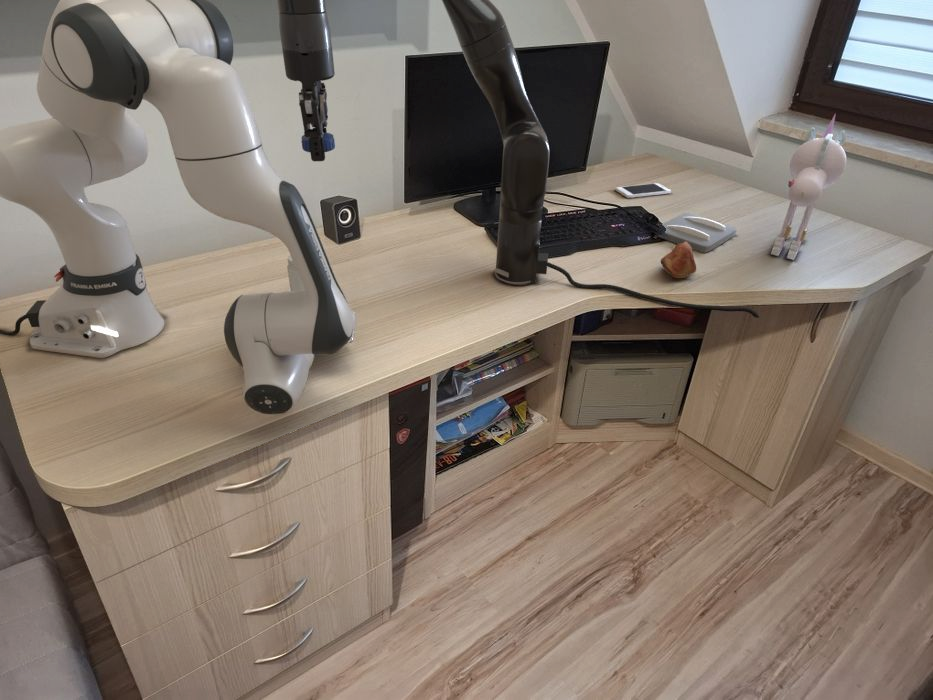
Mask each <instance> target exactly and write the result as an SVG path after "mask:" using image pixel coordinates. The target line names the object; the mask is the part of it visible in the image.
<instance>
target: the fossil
mask: <svg viewBox="0 0 933 700" xmlns="http://www.w3.org/2000/svg"><path fill="white" fill-rule="evenodd" d="M660 264H661V265H662V267H663V269H664V270H665V272H667V274H669V275H671V277H673V278H675V279H684V278H687V277H689V276H690V275H693V274H695V272H697V264H696V260H695V257H694V252H693V249H692V248H691V246H690V245H689V243H688V242H687V241H685V242H684V243H681V244H676V245H675V246H674V247H673V248H672V250H671V251H670V252H668V253H667V254H666V255H664V256H663V257H662V258H661V259H660Z"/></svg>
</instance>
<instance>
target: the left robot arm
mask: <svg viewBox="0 0 933 700" xmlns="http://www.w3.org/2000/svg"><path fill="white" fill-rule="evenodd" d="M42 45H43V46H42V51H41V57H40V64H39V68H38V76H37V82H36V92H37V96H38V99H39V102H40V103H41V105H42V107H43V108H44V110H45V111H46V112H47V114H49V115H50V118H47V119H41V120H36V121H32V122H27V123H22V124H17V125H12V126H9V127H6V128H3V129H1V130H0V197H1V198H2V199H4V200H6V201H9V202H11V203H14V204H17V205H20V206H23V207H24V208H26V209H29V211H31V212H33V213H34V214H36V215H37V216H38V217H39V218H40V219H41V220H42V221H43V222H44V223H45V224H46V226H47V227H48V228H49V229H50V232H51V233H52V234H53V237H54V239H55V241H56V244H57V246H58V248H59V250H60V252H61V255H62V258H63V260H64V265H63V266H61V267H60V268H59V271H58V272H57V273H56V274H54V276H53V278H55V282H56V283H58V282H59V281H60V280H61V279H62V280H63V281H62V285H61V286H60V287H59V288H58V289H56V290H55V291H54V292H53V293H52V294H50V296H49V297H48V298H47V299H44V300H41V299H40V300H36V301H35V303H33V304H32V306H31V307H30V308H29V309H28V310H27V312H26V313H25V314H24V315H22V316H20V317H19V318H18V319H17V320H16V322H15V325H14V330H12V331H6V330H3V329H0V334H1V335H4V336H16V335H18V334H19V333H20V331H21V324H22V323H23V322H24V321H25V320H28V322H29V324H30V327H31V328H35V329H34V330H33V332H32V333H31V335H30V337H29V344H30V348H31V349H32V350H39V351H45V352H46V351H47V352H53V353H54V352H55V353H60V354H69V355H75V356H76V355H77V356H83V357H89V358H98V359H104V358H107V357H111V356H113V355H114V354H117V353H118V352H120V351H123V350H126V349H130V348H134V347H137V346H140V345H142V344H144V343H146V342H149V341H151V340H152V339H154V338H155V337H156V336H158V335H159V334H160V333H161V332H162V331H163V329H164V327H165V319H164V317H163V316H162V315H161V313H160V312H159V310H158V309H157V307H156V305H155V303H154V301H153V299H152V297H151V294H150V292H149V290H148V287H147V281H146V280H147V279H146V275H145V272H144V268H143V265H142V262H141V259H140V256H139V255H138V254H137V253H136V250H135V247H134V242H133V238H132V236H131V232H130V228H129V225H128V222H127V220H126V219H125V217H124V215H122V214H121V213H120V212H119V211H118V210H116V209H115V208H112V207H110V206H108V205H104V204H99V203H96V202H95V203H94V202H89V200H88V198H87V196H86V193H85V188H87V187H90V186H94V185H97V184H100V183H103V182H107V181H111V180H115V179H118V178H121V177H123V176H125V175H127V174H130V173H131V172H133V171H135V170H136V169H138V168H139V167H141V166H143V165H144V164H145V163H146V162H147V159H148V155H149V142H148V141H149V140H148V138H147V135H146V132H145V131H144V129H143V127H142V125H140V123H139V122H138V121H137V120H136V119H135V118H134V117H133V116H132V115H130V114H129V113H128V112H126V109H128V110H132V111H133V110H134V111H135V110H137V109H138V108H139V107H140V105H141V103H142V102H143V100H144V101H146V102H148V103H149V104H150V105H152V106H153V107H155V109H156V110H158V112H159V113H160V115H161V116H162V118H163V120H164V123H165V126H166V129H167V134H168V138H169V141H170V145H171V149H172V151H173V156H174V158H175V162H176V165H177V170H178V171H179V175H180V178H181V181H182V183H183V186H184V188H185V189H186V191H187V193H188V195H189V196H190V198H191V199H192V200H193V201H194V202H195V203H196V204H198V205H199V206H200V207H201V208H203V210H206V211H207V212H209V213H211V214H213V215H214V216H216V217H219V218H222V219H224V220H227V221H232V222H236V223H240V224H244V225H247V226H251V227H254V228H257V229H260V230H261V231H264V232H266V233H269V234H271V235H273V236H274V237H276V238H277V239H278V240H279V241H281V242H282V243H283V244H284V245H285V247H286V248H287V250H288V252H289V255H291V257H292V260H293V262H294V264H295V267H296V269H297V271H298V274H299V276H300V278H301V281H302V283H303V286H304V288H305V290H302V291H291V290H290V291H279V292H278V291H276V292H271V291H269V292H258V293H249V294H241V295H239V296H238V297H237V298H236V299H235V300H234V301H233V303H232V304H231V305H230V308H229V309H228V311H227V313H226V316H225V319H224V324H223V335H224V339H225V343H226V346H227V349H228V351H229V352H230V354H231V356H232V357H233V358H234V360H235V361H236V363H238V365H239V366H240V367H241V368H242V370H243V385H242V386H243V387H242V395H243V400H244V402H245V404H246V405H247V406H248V407H249V408H250V409H251V410H253V411H255V412H258V413H260V414H264V415H279V414H280V415H281V414H286V413H287V412H289V411H290V410H292V409H293V408H294V407H295V406H296V404H297V403H298V402H299V400H300V398H301V396H302V393H303V391H304V390H305V387H306V385H307V381H308V378H309V375H310V374H309V373H310V368H311V367H312V364H313V362H314V359H315V356H317V355H318V356H320V355H323V356H324V355H327V356H328V355H329V356H334V355H336V354H337V353H338V352H339V351H341V350H342V349H343V348H344V347H345V346H346V345H348V344H350V343H351V344H352V343H353V342H354V339H355V334H356V330H357V325H358V324H357V322H358V321H357V314H356V312H355V310H353V309H351V308H350V305H349V302H348V301H347V298H346V296H345V294H344V292H343V290H342V288H341V287H340V285H339V283H338V281H337V278H336V276H335V274H334V271H333V268H332V266H331V263H330V261H329V258H328V255H327V254H326V253H327V252H326V250H325V248H324V245H323V243H322V241H321V238H320V236H319V233H318V230H317V228H316V226H315V223H314V221H313V218H312V215H311V213H310V211H309V209H308V207H307V205H306V202H305V200H304V198H303V197H302V195H301V193H300V192H299V190H298V188H297V187H296V186H295V185H294V184H292V183H290V182H288V181H285V180H284V179H283V178H282V177H281V176H280V175H279V174H278V173H277V172H276V170H275V168H274V167H273V166H272V164H271V163H270V161H269V158H268V157H267V155H266V152H265V149H264V145H263V142H262V141H263V140H262V138H261V134H260V129H259V126H258V123H257V119H256V116H255V113H254V110H253V108H252V106H251V102H250V99H249V96H248V95H247V93H246V89H245V87H244V85H243V82H242V80H241V78H240V76H239V74H238V73H237V71H236V70H235V69H234V67H232V66H231V65H232V61H233V57H234V40H233V35H232V32H231V28H230V26H229V24H228V22H227V20H226V18H225V16H224V15H223V12H221V11H220V9H219V8H218V7H217V6H216V5H215V4H214V3H213V2H211V1H209V0H59V1H58V3H57V5H56V6H55V8H54V10H53V13H52V15H51V17H50V20H49V23H48V25H47V30H46V32H45V36H44V41H43V44H42Z"/></svg>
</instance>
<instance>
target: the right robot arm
mask: <svg viewBox="0 0 933 700" xmlns="http://www.w3.org/2000/svg"><path fill="white" fill-rule="evenodd" d="M276 1H277V9H278V19H279V20H278V21H279V24H278V27H279V35H280V36H279V37H280V42H281V43H280V44H281V51H282V57H283V64H284V72H285V76H286V77H287V79H288V80H290V81H294V82H300V83H301V89H300V92H299V91H298V102H299V103H298V105H299V107H300V114H301V120H302V124H303V135H305V137H307V138H309V145H310V152H309V153H310V160H311V161H312V162H324V161H325V160H326V152H325V151H324V142H323V136H324V133H323V132H325V133H328V132H327V127H328V119H329V115H328V111H329V109H328V104H327V100H328V99H327V98H328V97H327V96H328V93H327V89H326V84H325V82H323V81H328V80H331V79H332V78H334V76H335V73H336V72H335V63H334V54H333V44H332V35H331V34H332V33H331V25H330V22H329V17H328V12H327V1H326V0H276ZM441 2H442V4H443V7H444V8H445V9H444V10H445V11H446V13H447V16H448V19H449V20H450V23H451V25H452V27H453V30H454V32H455V35H456V38H457V40H458V43H459V44H458V45H459V46H460V48H461V51H462V54H463V56H464V58H465V61H466V64H467V66H468V67H469V70H470V72H471V75H472V76H473V79H474V80H475V82H476V83H477V85H478V87H479V88H480V90H481V92H482V94H483V95H484V96H485V98H486V100H487V101H488V103H489V104H490V106H491V108H492V112H493V113H494V116H495V119H496V122H497V126H498V128H499V132H500V136H501V140H502V146H503V150H502V164H501V180H500V181H501V183H500V194H499V195H500V196H499V211H498V228H497V244H496V260H495V267H494V277H495V278H496V280H498V281H499V282H502V283H503V284H508V285H510V286H525V285H530V284H537V275H538V274H540V275H547V271H548V268H550V269H552V270H554V271H557V272H560V273H561V274H562V275H564V276H565V278H566V279H567V281H568V282H569V284H570V285H572V286H574V287H576V288H579V289H586V290H587V289H590V290H592V289H593V290H595V289H596V290H598V289H603V290H604V289H605V290H606V289H607V290H613V291H617V292H620V293H624V294H627V295H630V296H634V297H636V298H639V299H644V300H647V301H652V302H655V303H659V304H664V305H667V306H668V305H669V306H673V307H678V308H684V309H690V310H691V309H693V310H705V311H719V312H720V311H721V312H746V313H749V314H750V315H752V316H753V318H757V319H759V318H760V315H759V313H758V312H757V311H756V310H754V309H753V308H751V307H748V306H724V305H711V304H709V305H708V304H696V303H695V304H694V303H687V302H681V301H675V300H670V299H665V298H661V297H658V296H654V295H650V294H646V293H641V292H639V291H635V290H632V289H629V288H625V287H622V286H619V285H614V284H607V283H598V284H597V283H596V284H586V283H585V284H584V283H580V282H577V281H576V280H574V279H573V278H572V276H571V274H570V272H568V271H567V270H566V269H564V268H562V267H560V266H559V265H556V264H554V263H551V262H549V253H547V252H546V253H545V252H540V246H541V244H540V243H541V231H542V222H543V221H542V220H543V213H544V212H543V211H544V201H545V196H546V192H547V183H548V176H549V166H550V156H551V155H550V153H551V151H550V150H551V149H550V145H549V139H548V136H547V133H546V132H545V130H544V128H543V126H542V124H541V122H540V120H539V118H538V116H537V115H536V112H535V110H534V108H533V106H532V104H531V102H530V99H529V96H528V95H527V91H526V87H525V85H524V79H523V75H522V70H521V67H520V63H519V60H518V55H517V52H516V50H515V47H514V43H513V40H512V38H511V34H510V32H509V29H508V27H507V26H508V25H506V21H505V19H504V17H503V15H502V13H501V11H500V10H499V9H498V8H497V7H496V5H495V4H494V3H493V2H492V1H491V0H441Z"/></svg>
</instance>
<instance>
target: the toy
mask: <svg viewBox="0 0 933 700" xmlns="http://www.w3.org/2000/svg"><path fill="white" fill-rule="evenodd" d="M836 116H837V115H836V112H835V113H834V115H833V116H832V119H831V120H830V122H829V124H828V126H827V128H826V130H825V131H824V133H823V134H822V136H821V137H817V138H816V136H817V128H815V127H810V129H809V130H808V133H807V135H806V136H805V142H804V143H802V144H801V145H800V146H798V148H797V149H796V150H795V151H794V152H793V154H792V156H791V159H790V162H789V173H790V175H791V178H792V180H789V181H788V188H789V189H788V198H789V201H790V202H789V205H788V209H787V212H786V215H785V218H784V221H783V223H782V227H781V230H780V233H779V235H777V236H776V239H775V241H774V243H773V246H772V249H771V253H770V255H772V256H776V257H779V255H780V253H781V252H782V249H783V248H784V246H785V242H786V240H789V238H790V234H791V232H792V227H793V225H792V223H793V219H794V217H795V213H796V211H797V208H798V207H801V208H802V207H804V208H805V210H804V213H803V216H802V219H801V222H800V225H799V227H798V230H797V233H796V237H795V239H793V240H792V242H791V245H790V247H789V250H788V253H787V256H786V259H788V260H792V261H794V260H795V259H796V257H797V255H798V253H799V251H800V249H801V245H802V244H803V243H804V240H805V238H806V235H807V231H808V228H807V227H808V224H809V221H810V218H811V215H812V212H813V209H814V207H815V204H816V202H817V201H818V200H819V199H820V197H821V195H822V193H823V191H824V189H827V188H828V187H831V186H832V185H834V184H835V183H836V182H837V181H838V180H840V178H841V177H842V176H843V174H844V173H845V170H846V168H847V167H846V166H847V154H846V152H845V150H844V148H843V145H844V143H845V141H846V140H847V134H846V131H845V130H840V131H839V132H838V133H837V135H836V137H835V139H833V129H834V125H835V120H836ZM841 135H842V138H841V141H840V137H841Z"/></svg>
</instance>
